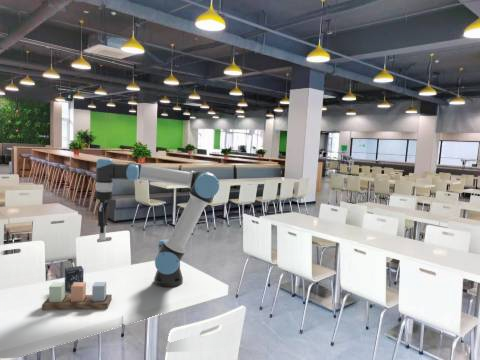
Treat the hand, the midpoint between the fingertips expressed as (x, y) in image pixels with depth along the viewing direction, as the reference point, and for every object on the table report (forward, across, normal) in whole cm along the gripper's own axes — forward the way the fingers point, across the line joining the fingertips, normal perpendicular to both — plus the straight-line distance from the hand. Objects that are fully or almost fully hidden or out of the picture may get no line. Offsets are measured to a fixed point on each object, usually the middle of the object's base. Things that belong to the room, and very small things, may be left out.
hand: (102, 239), depth 181 cm
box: (+27, -4, -14) cm, 31 cm away
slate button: (+24, +14, +3) cm, 28 cm away
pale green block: (+24, +15, -15) cm, 32 cm away
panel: (+27, +15, -6) cm, 31 cm away
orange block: (+24, +15, -6) cm, 29 cm away
